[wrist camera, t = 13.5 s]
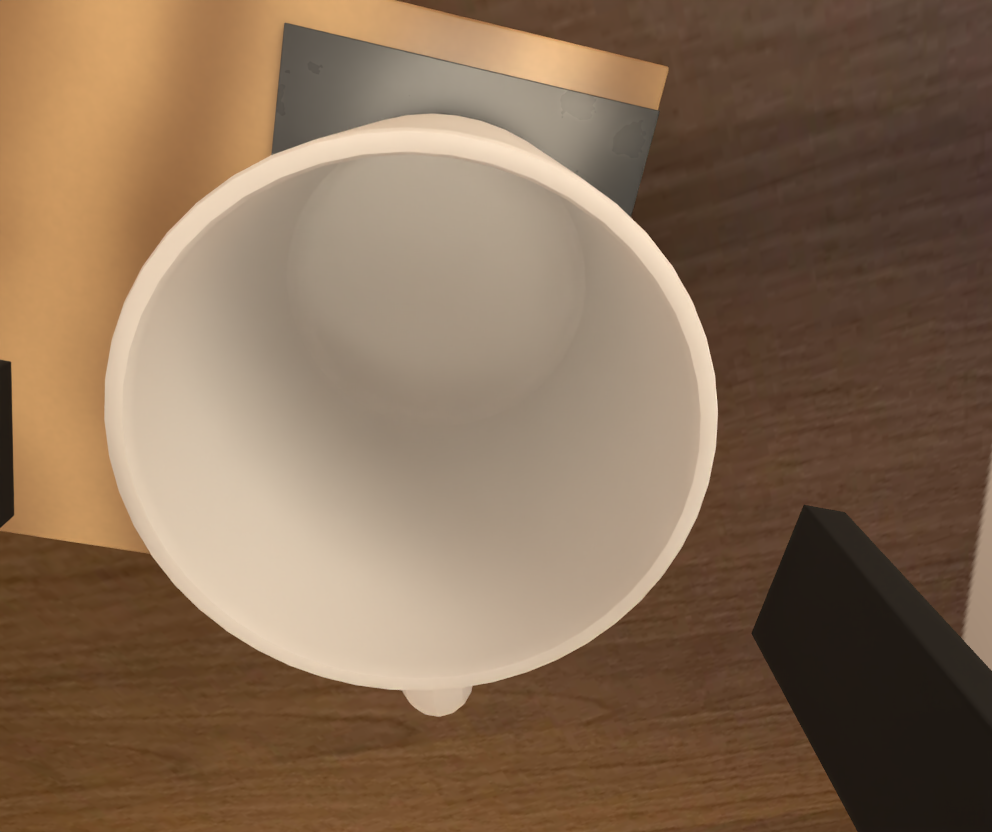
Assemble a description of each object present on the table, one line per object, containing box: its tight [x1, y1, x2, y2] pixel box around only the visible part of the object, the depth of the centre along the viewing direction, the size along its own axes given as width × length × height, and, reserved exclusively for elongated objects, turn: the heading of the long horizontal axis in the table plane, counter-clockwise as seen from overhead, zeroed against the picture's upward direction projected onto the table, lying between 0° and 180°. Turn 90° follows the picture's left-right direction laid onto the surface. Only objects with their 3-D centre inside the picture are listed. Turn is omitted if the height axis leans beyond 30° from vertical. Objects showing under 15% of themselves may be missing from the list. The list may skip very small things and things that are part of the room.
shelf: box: [0, 0, 669, 554], centre depth 21 cm, size 22×16×9 cm
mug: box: [104, 114, 718, 717], centre depth 16 cm, size 12×8×10 cm
